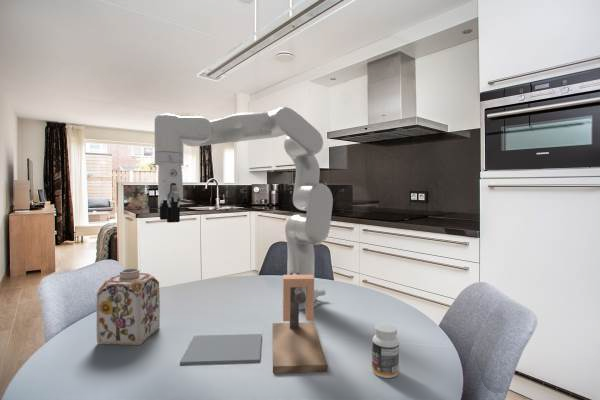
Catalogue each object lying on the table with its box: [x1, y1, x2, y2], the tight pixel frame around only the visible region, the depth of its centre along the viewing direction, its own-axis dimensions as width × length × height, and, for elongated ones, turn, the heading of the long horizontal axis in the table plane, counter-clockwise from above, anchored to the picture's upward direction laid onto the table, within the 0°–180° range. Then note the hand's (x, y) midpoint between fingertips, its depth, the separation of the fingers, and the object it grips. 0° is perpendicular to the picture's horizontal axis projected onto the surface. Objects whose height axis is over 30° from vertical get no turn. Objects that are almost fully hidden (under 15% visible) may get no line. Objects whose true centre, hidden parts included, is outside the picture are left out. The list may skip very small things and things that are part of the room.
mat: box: [179, 333, 262, 365], centre depth 84 cm, size 18×14×1 cm
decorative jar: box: [95, 267, 161, 346], centre depth 91 cm, size 12×12×18 cm
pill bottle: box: [371, 323, 400, 379], centre depth 74 cm, size 6×6×10 cm
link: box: [282, 274, 315, 322], centre depth 81 cm, size 7×4×10 cm, turn 95°
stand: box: [272, 271, 328, 374], centre depth 85 cm, size 12×24×17 cm, turn 5°
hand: (169, 220), depth 94 cm, fingers open, 9 cm apart
